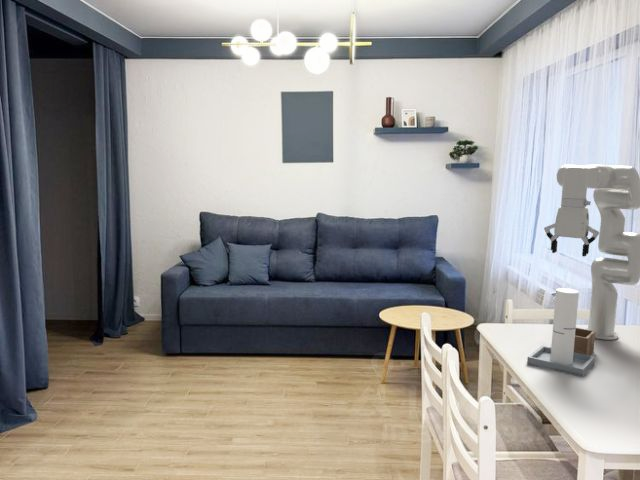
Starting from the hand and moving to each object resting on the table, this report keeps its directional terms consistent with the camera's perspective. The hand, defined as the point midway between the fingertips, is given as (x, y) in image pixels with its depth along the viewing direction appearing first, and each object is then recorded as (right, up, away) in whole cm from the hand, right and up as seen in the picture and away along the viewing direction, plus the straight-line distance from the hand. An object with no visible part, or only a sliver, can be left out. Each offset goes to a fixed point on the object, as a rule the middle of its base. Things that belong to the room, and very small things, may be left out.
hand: (569, 254), depth 198 cm
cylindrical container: (-1, -37, +4) cm, 38 cm away
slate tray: (-1, -38, +4) cm, 38 cm away
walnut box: (+8, -36, +16) cm, 41 cm away
